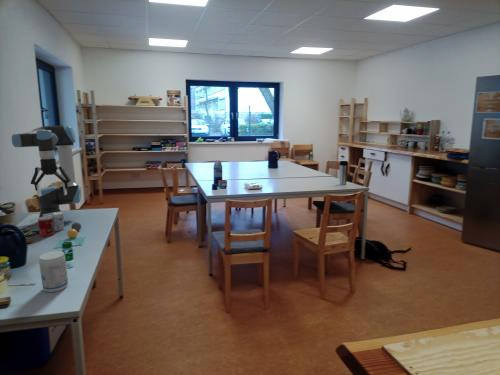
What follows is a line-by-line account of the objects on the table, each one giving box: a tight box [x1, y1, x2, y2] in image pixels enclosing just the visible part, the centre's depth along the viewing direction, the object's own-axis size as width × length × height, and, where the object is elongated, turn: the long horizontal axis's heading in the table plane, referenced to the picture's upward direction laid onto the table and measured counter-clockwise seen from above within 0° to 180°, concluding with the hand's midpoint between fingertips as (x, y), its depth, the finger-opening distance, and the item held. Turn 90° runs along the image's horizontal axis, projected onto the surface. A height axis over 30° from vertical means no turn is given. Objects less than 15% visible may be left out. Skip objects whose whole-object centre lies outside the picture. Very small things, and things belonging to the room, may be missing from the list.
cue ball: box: [71, 221, 82, 232], centre depth 225 cm, size 6×6×6 cm
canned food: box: [37, 216, 56, 238], centre depth 218 cm, size 8×8×11 cm
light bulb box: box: [43, 211, 65, 232], centre depth 227 cm, size 11×7×11 cm, turn 131°
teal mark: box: [54, 236, 86, 249], centre depth 205 cm, size 14×14×1 cm
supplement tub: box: [38, 250, 69, 293], centre depth 150 cm, size 10×10×15 cm
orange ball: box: [66, 228, 78, 239], centre depth 212 cm, size 6×6×6 cm
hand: (52, 195), depth 203 cm, fingers open, 13 cm apart
